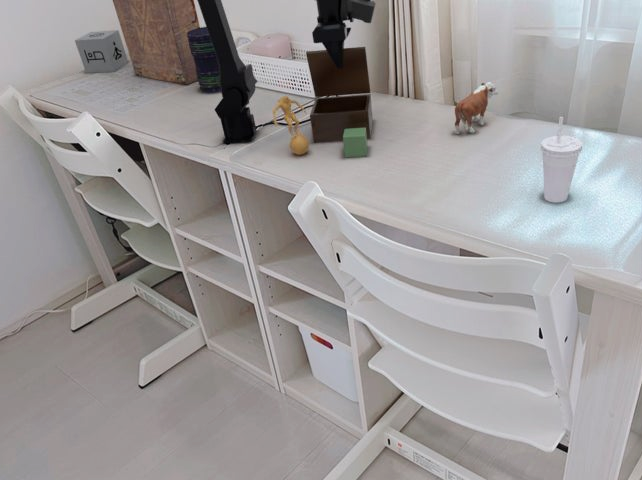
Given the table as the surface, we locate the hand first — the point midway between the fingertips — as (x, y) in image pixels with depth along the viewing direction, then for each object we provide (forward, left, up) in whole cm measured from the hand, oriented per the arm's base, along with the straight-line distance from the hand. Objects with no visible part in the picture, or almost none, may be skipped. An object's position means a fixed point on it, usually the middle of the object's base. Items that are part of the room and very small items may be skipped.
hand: (339, 68), depth 126 cm
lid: (-1, +4, -2) cm, 4 cm away
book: (-58, +55, -14) cm, 81 cm away
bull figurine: (+28, -1, -14) cm, 31 cm away
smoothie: (+38, -34, -14) cm, 53 cm away
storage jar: (-40, +40, -14) cm, 58 cm away
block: (+3, -11, -14) cm, 18 cm away
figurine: (-10, -9, -14) cm, 20 cm away
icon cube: (-85, +70, -14) cm, 110 cm away
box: (-1, +1, -14) cm, 14 cm away
